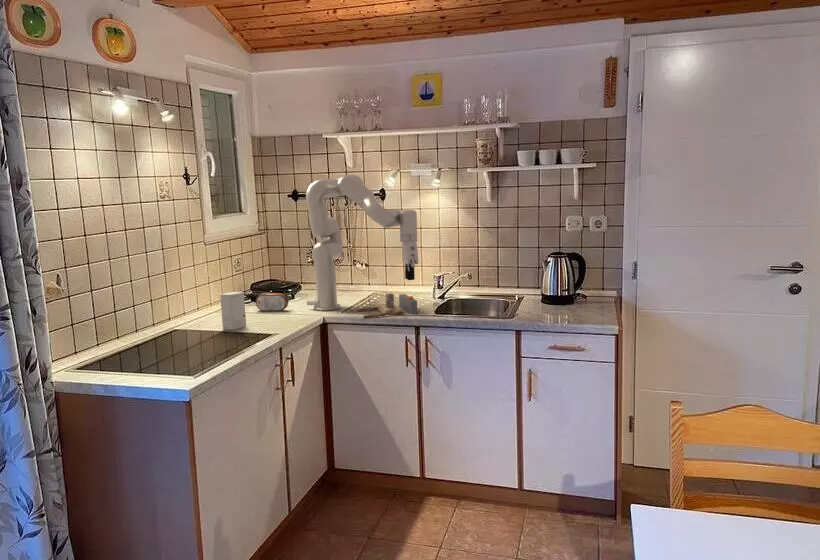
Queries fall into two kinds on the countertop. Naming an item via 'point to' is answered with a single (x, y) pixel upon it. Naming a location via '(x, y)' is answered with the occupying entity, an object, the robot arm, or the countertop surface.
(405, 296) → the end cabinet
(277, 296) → the tin
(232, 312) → the skincare box
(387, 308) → the post on wide base
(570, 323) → the countertop surface
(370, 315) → the track
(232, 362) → the countertop surface
